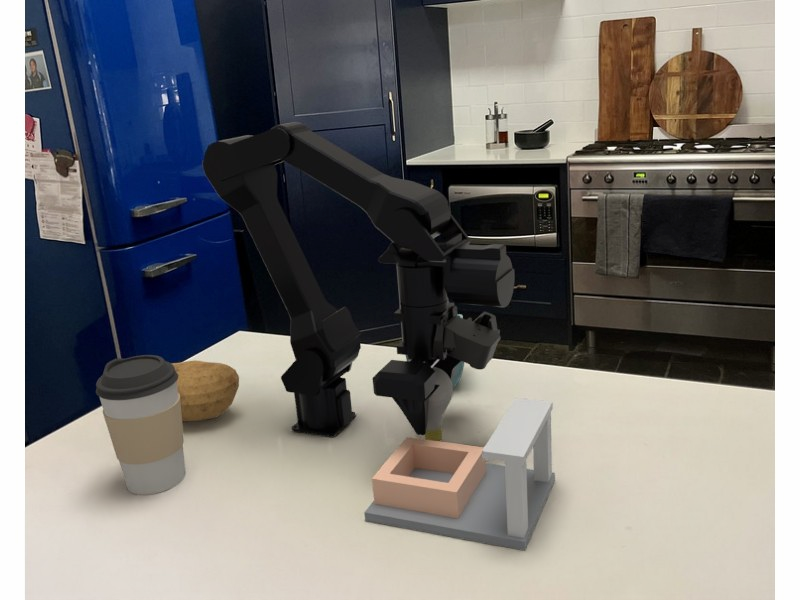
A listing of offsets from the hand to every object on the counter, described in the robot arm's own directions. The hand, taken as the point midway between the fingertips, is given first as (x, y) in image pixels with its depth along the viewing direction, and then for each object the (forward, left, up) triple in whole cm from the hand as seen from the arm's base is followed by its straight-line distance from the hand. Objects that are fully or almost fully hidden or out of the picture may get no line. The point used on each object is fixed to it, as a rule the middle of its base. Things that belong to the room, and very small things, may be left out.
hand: (432, 420), depth 94 cm
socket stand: (+7, -11, -3) cm, 14 cm away
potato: (-35, -2, -3) cm, 35 cm away
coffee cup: (-29, -17, -3) cm, 34 cm away
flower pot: (-6, +17, -3) cm, 18 cm away
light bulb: (0, 0, -3) cm, 3 cm away
